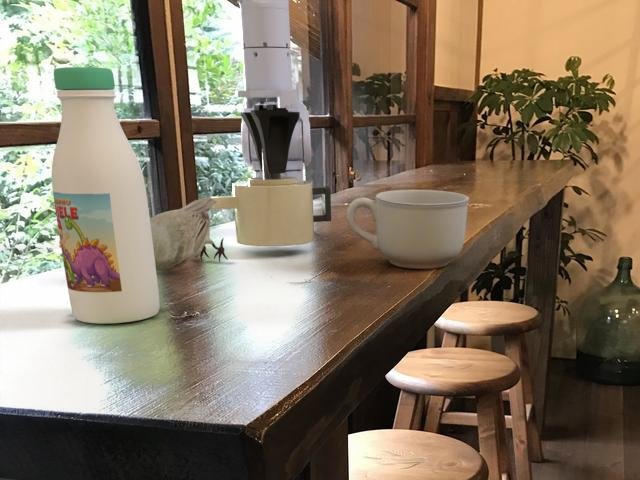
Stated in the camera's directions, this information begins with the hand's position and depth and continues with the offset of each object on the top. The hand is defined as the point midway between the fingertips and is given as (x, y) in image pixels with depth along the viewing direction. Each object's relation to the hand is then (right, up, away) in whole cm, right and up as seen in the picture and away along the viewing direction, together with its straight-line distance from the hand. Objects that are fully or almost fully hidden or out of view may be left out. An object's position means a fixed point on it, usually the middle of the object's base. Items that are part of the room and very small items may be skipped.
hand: (273, 172), depth 101 cm
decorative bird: (-11, -15, -8) cm, 20 cm away
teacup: (+16, -13, -5) cm, 22 cm away
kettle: (0, -8, +3) cm, 8 cm away
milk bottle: (-11, -24, -28) cm, 38 cm away
